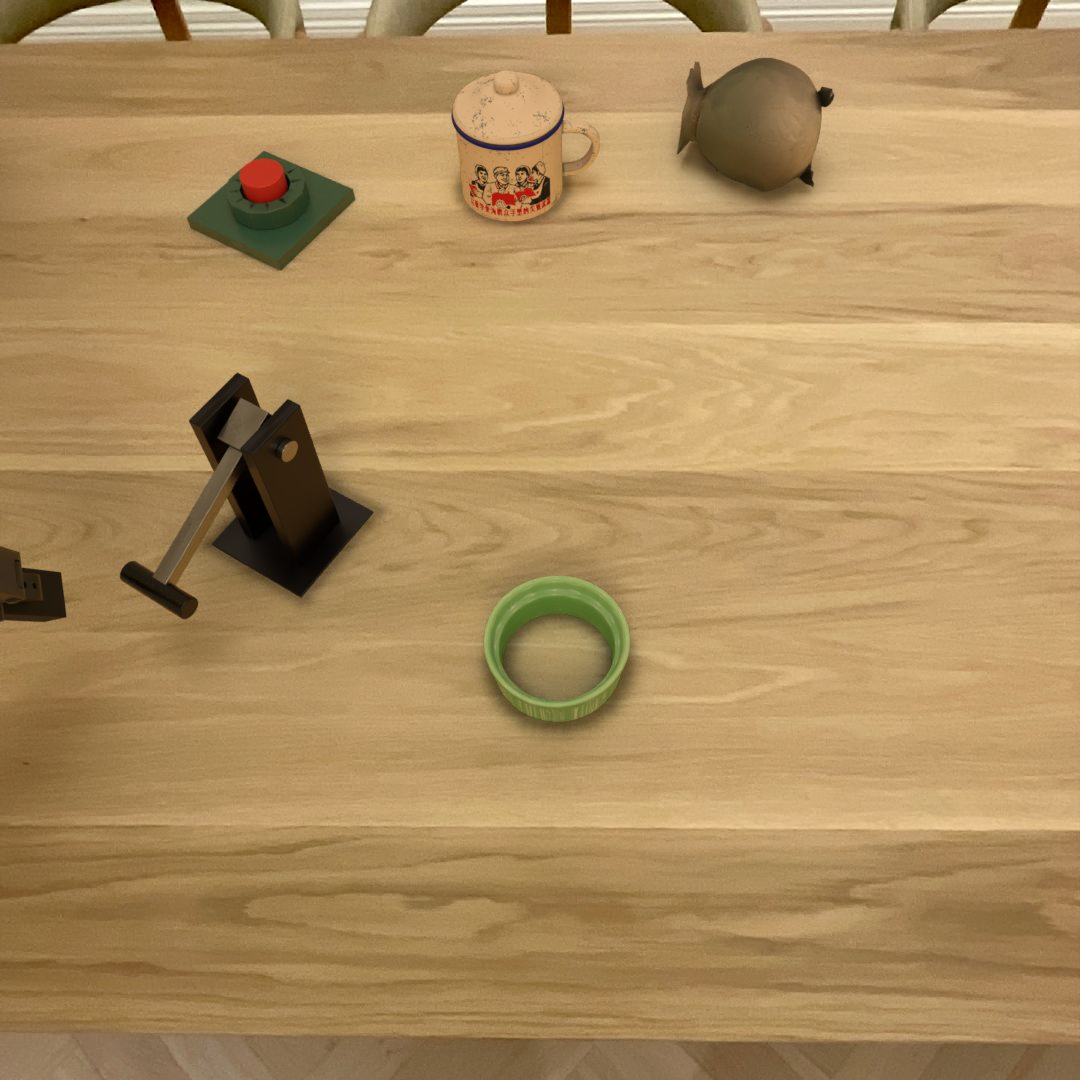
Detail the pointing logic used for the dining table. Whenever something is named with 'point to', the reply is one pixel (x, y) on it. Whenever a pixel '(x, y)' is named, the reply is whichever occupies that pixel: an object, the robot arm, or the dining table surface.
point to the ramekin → (556, 599)
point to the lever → (198, 518)
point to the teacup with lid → (515, 145)
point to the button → (263, 181)
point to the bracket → (278, 494)
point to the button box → (273, 214)
